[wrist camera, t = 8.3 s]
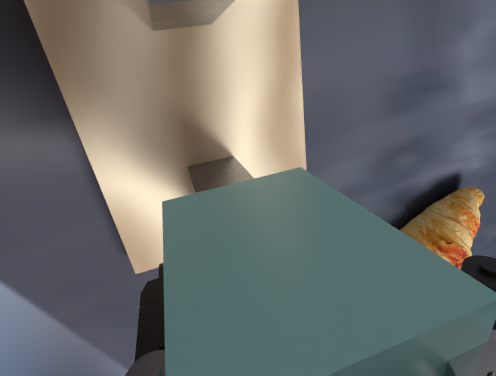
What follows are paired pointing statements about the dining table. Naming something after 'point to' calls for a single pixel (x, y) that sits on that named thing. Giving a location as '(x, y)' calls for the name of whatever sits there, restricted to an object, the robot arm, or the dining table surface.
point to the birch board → (174, 100)
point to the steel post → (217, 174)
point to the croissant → (449, 225)
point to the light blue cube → (308, 287)
